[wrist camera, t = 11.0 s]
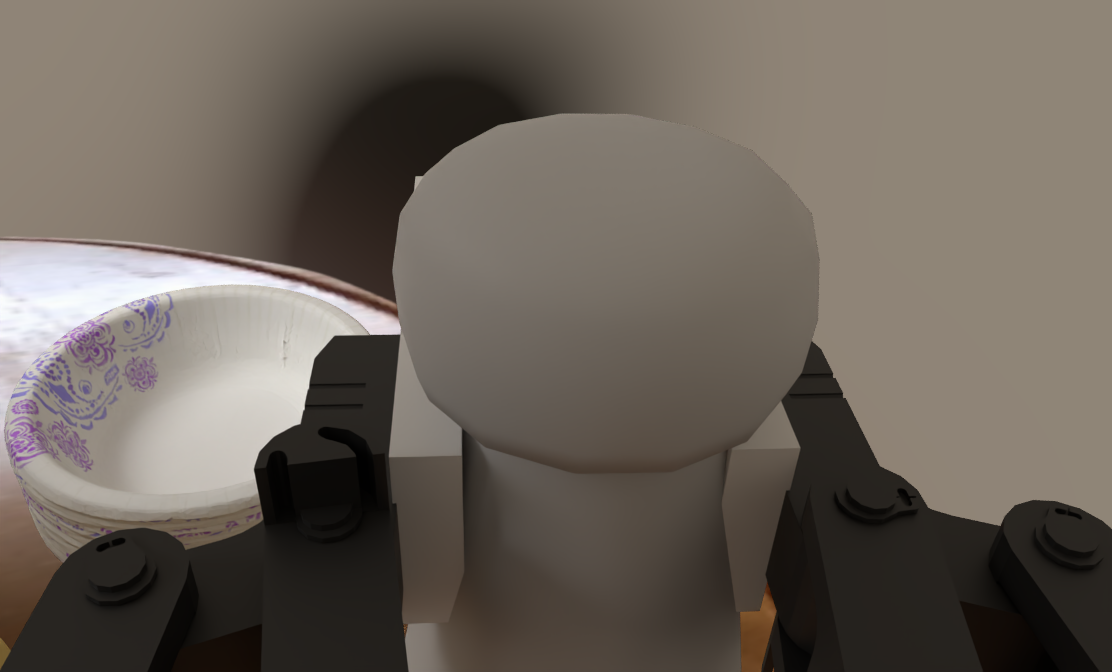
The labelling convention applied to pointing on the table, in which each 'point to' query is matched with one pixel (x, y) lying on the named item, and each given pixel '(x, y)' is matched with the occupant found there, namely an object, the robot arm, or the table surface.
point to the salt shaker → (600, 381)
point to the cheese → (3, 652)
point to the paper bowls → (164, 412)
